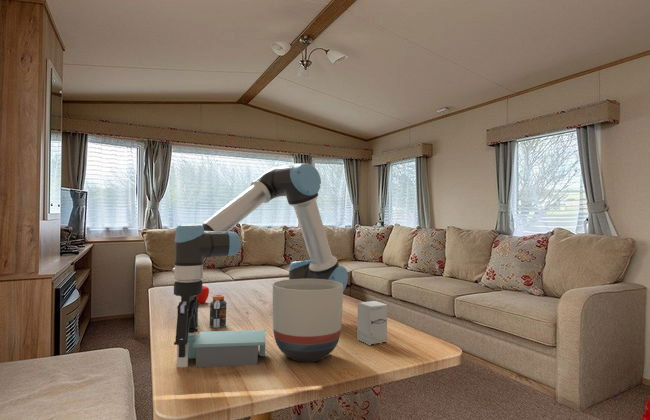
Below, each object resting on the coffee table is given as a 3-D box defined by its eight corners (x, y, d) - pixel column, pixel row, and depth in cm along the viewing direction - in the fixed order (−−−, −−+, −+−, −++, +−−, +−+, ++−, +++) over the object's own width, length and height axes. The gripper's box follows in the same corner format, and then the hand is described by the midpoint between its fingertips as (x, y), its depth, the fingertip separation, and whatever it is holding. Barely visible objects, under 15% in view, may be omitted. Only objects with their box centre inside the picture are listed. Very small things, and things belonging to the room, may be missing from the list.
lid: (265, 345, 113) (265, 329, 113) (264, 360, 102) (265, 342, 102) (183, 348, 110) (184, 332, 110) (173, 363, 98) (174, 345, 99)
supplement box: (368, 346, 120) (369, 306, 121) (356, 339, 127) (357, 301, 127) (387, 343, 124) (388, 304, 124) (374, 336, 130) (375, 300, 131)
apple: (195, 300, 185) (195, 284, 185) (212, 301, 184) (212, 285, 184) (185, 304, 176) (186, 287, 176) (203, 305, 175) (204, 288, 175)
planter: (283, 376, 96) (285, 292, 96) (263, 351, 114) (264, 280, 115) (354, 365, 104) (355, 287, 105) (325, 343, 123) (325, 277, 123)
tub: (258, 353, 113) (258, 333, 113) (257, 367, 102) (257, 344, 102) (203, 355, 110) (203, 334, 111) (195, 370, 99) (196, 347, 100)
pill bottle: (221, 328, 138) (222, 297, 138) (206, 327, 139) (207, 296, 140) (228, 324, 144) (229, 294, 144) (214, 323, 145) (215, 293, 145)
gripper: (183, 274, 115) (181, 349, 115) (163, 286, 94) (160, 378, 93) (208, 274, 116) (206, 348, 116) (194, 286, 95) (192, 377, 94)
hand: (186, 361), depth 104 cm, fingers open, 9 cm apart
